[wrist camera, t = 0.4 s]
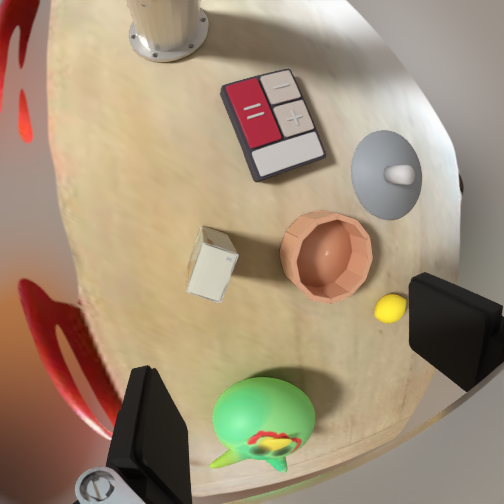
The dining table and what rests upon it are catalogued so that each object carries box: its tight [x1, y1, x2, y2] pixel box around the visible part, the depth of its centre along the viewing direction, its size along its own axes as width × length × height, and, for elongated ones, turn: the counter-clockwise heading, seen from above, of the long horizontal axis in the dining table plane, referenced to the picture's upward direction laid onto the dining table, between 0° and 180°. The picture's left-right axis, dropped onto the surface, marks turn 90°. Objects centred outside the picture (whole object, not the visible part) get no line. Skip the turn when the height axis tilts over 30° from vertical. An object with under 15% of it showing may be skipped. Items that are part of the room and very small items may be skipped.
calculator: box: [220, 69, 326, 182], centre depth 40 cm, size 11×4×15 cm
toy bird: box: [209, 377, 315, 473], centre depth 45 cm, size 18×17×15 cm
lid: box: [351, 130, 422, 220], centre depth 45 cm, size 16×16×6 cm
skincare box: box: [186, 226, 239, 303], centre depth 38 cm, size 6×4×12 cm
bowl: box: [279, 210, 373, 304], centre depth 45 cm, size 13×13×6 cm
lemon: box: [375, 294, 407, 324], centre depth 50 cm, size 7×5×5 cm
